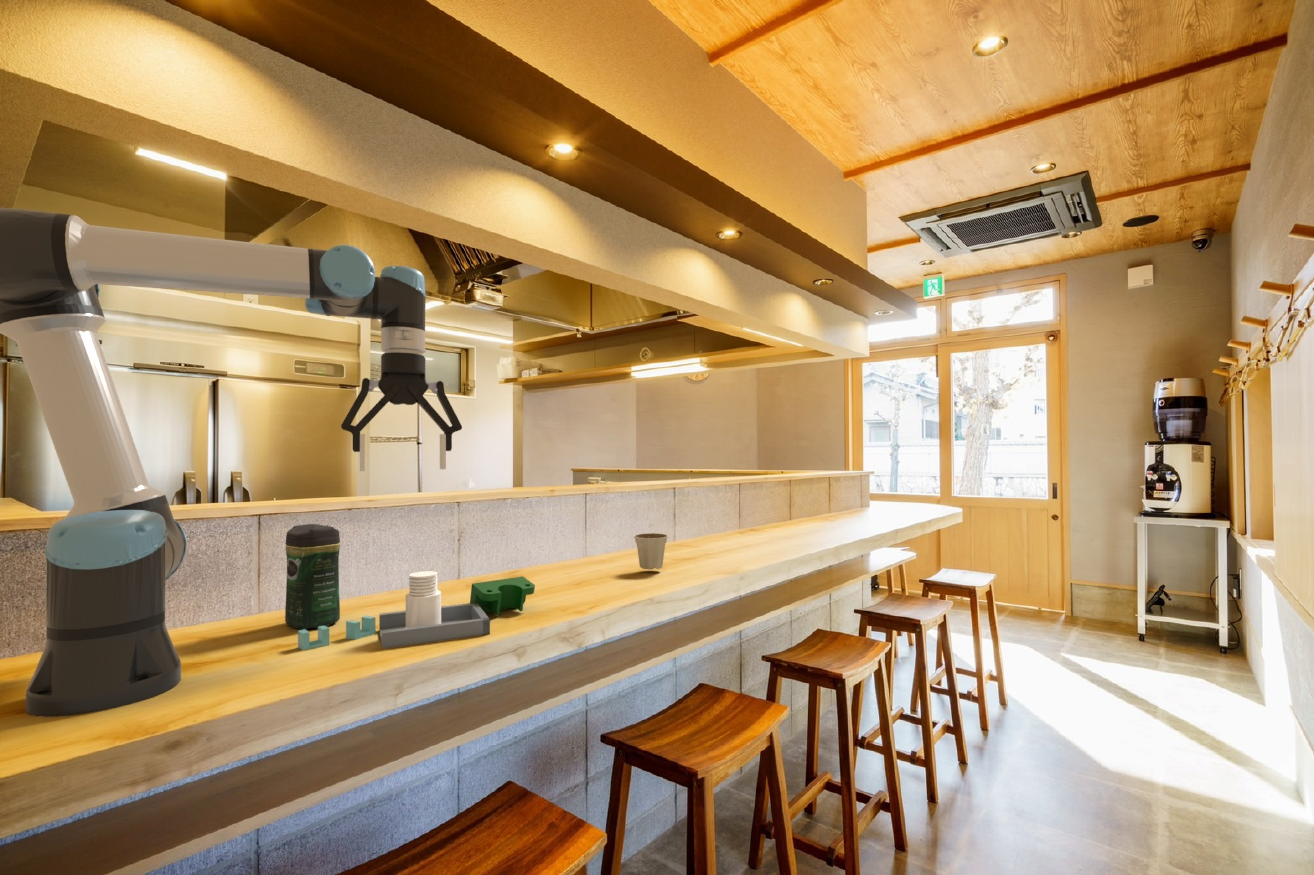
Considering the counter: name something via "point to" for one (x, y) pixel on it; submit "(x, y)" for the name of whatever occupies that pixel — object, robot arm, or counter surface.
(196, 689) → the counter surface
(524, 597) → the clamp
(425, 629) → the end holder
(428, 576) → the white stepped cylinder
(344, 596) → the counter surface
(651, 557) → the flower pot
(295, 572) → the coffee jar
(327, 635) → the clips
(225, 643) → the counter surface
